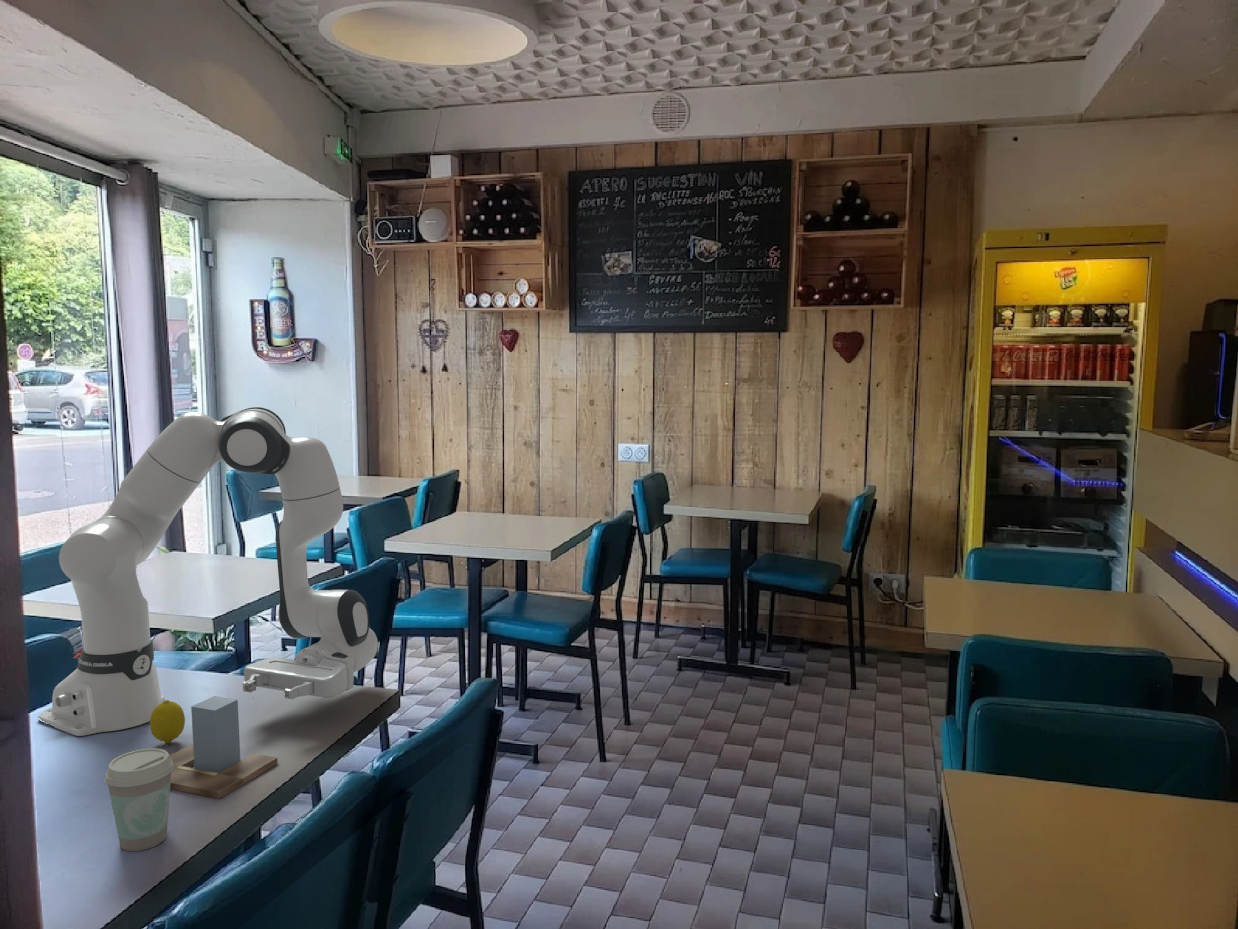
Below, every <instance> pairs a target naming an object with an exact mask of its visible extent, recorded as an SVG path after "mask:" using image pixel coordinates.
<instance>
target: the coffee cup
mask: <svg viewBox="0 0 1238 929" xmlns="http://www.w3.org/2000/svg"><path fill="white" fill-rule="evenodd" d="M173 768H174V764H173V761H172V759H171V758H170V754H169V752H168V751H167V750H166V749H163V748H143V749H137V750H133V751H130V752H125V753H123V754H120V755H119V756H116V757H114V758H113V759H112V760H111V761H110V762H109V764H108V767H107V770H106V771H105V774H104V782H105V784H107V787H108V792H109V797H110V801H111V802H110V803H111V806H112V812H113V817H114V822H115V826H116V832H117V837H118V841H119V846H120V848H121V850H123V851H128V852H140V851H144V850H148V849H151V848H154V847H155V846H158V845H160V844H161V843H163V841H164V840H165V839H166V838H167V835H168V834H167V833H168V825H169V823H168V822H169V808H170V793H171V789H170V783H171V771H172V770H173Z"/></svg>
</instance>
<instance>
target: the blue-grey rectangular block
mask: <svg viewBox="0 0 1238 929" xmlns="http://www.w3.org/2000/svg"><path fill="white" fill-rule="evenodd" d="M190 710H191V711H190V712H191V725H192V726H191V729H192V744H193V750H194V765H193V766H194V767H193V768H194V769H199V770H205V771H210V772H215V773H218V774H219V773H220V772H222V771H224V770H226V769H227V768H229V767H231V766H233V765H234V764H236V763H238V762H240V761H241V745H240V724H239V723H240V721H239V700H238V699H235V698H230V697H222V696H217V695H214V696H211V697H209V698H206V699H205V700H203V701H200V702H198V703H196V704H194V705H192V706H191V707H190Z"/></svg>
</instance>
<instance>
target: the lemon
mask: <svg viewBox="0 0 1238 929" xmlns="http://www.w3.org/2000/svg"><path fill="white" fill-rule="evenodd" d="M185 717H186V716H185V713H184V710H183V708H182V706H181V705H179V704H178V703H177V702H176V701H175V702H174V701H170V700H168V699H166V700H165V701H164V702H163V703H161V704H159V705H158V706H157V707H156V708H155V709H154V710H153V712H152V714H151V718H150V721H149V727H150V729H149V730H150V732H151V734H152V736H153V737H154V738H155V739H156V740H158V741H160V742H164V743H165V744H172V742H173V741H174V740H175V739H177V738H178V737H179V736H180V735H181V734H182V733H183V730H184V728H185V724H186V718H185Z"/></svg>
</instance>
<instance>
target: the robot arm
mask: <svg viewBox="0 0 1238 929" xmlns="http://www.w3.org/2000/svg"><path fill="white" fill-rule="evenodd" d="M222 461H223V462H225V464H227V465H228V467H230V468H231V469H234V470H235V471H239V472H242V473H249V474H261V475H268V476H269V475H271V476H275V477H276V479H277V483H278V486H279V490H280V494H281V498H282V499H281V500H282V504H283V517H282V520H281V521H279V523H278V525H277V527H276V534H275V541H276V542H275V545H276V546H275V549H276V562H277V575H278V586H279V604H278V621H279V624H280V625H281V628H282V629H283V631H284V632H285V633H286V635H287V636H289V637H290V638H293V639H295V640H297V639H299V640H300V639H308V638H320V639H319V641H318V642H316V643H314V644H311V645H309V646H307V647H305V648H302V649H301V650H299V651H298V652H297V653H296V654H295V657H294V658H293V659H290V658H289V659H288V658H283V657H267V658H265V659H261V660H258V661H256V662H252V663H251V664H247V665H246V666H245V667H244V670H243V671H244V672H243V677H244V682H243V683H242V692H244V693H246V692H247V693H252V692H255V691H256V690H257V687H258V688H263V689H268V690H269V689H270V690H276V691H281V692H284V698H285V699H288V700H294V699H296V698H300V697H306V696H313V697H318V698H319V697H320V698H324V699H329V698H334V697H337V696H338V695H340V694H342V693H344V692H347V691H350V690H351V689H353V688H354V679H355V677H354V675H355V673H357V672H358V671H360V670H362V669H363V668H364V667H366V666H367V665H368V664H369V663H370V662H371V661H372V660H374V659H373V658H375V656H376V654H377V652H378V646H379V645H378V644H379V642H378V638H377V635H376V633H375V632H374V630H372V629H371V628H370V623H371V622H370V612H369V607H368V605H367V603H366V600H365V599H364V598H363V596H362V595H361V593H359V592H358V591H357V590H353V589H329V590H328V589H317V590H316V589H314V588H312V587H311V585H310V584H309V578H308V565H307V564H308V563H307V549H308V546H309V544H310V543H311V542H313V541H314V540H316V539H318V538H319V537H321V536H323V535H324V534H327V533H329V532H330V531H331V530H332V529H334V528H335V527H336V525H337V524H338V523H339V522H340V519H341V518H342V516H343V513H344V501H343V495H342V491H341V487H340V482H339V479H338V473H337V471H336V468H335V465H334V462H333V459H332V457H331V454H330V453H329V450H328V448H327V445H326V444H325V443H324V441H323V442H322V440H320V439H318V438H315V437H309V436H301V437H290V436H289V435H287V431H286V426H285V424H284V422H283V420H282V418H280V416H279V415H278V414H277V413H275V412H273V410H270V409H268V408H265V407H256V406H255V407H247V408H244V409H241V410H239V411H237V412H235V413H232V414H230V415H227V416H225V417H222V419H221V420H220V421H219V420H217V419H215V418H212V417H211V416H209V415H207V414H205V413H201V412H196V411H188V412H184V413H182V414H181V415H179V416H177V418H175V419H174V420H173V421H172V422H171V423H170V424H169V425H168V426H167V427H165V428H164V430H162V431H161V433H160V434H159V435H158V436H156V438H155V439H154V440H153V441H152V442H151V443H150V445H149V446H148V447H147V449H146V450H145V451H144V453H142V455H141V457H139V459H138V460H137V462H135V464H134V465H133V467H132V468H131V469H130V471H128V473H127V474H126V476H125V477H124V478H123V479H122V481H121V483H120V487H119V489H118V492H117V493H116V495H115V496H114V499H113V501H112V503H111V504H110V506H109V507H108V508H107V510H106V511H105V512H104V514H103V515H101V516H100V517H99V518H98V519H96V521H93V522H92V523H91V522H90V523H88V524H85V525H84V526H81V527H80V528H78V529H76V530H75V531H74V532H73V533H72V534H71V535H70V536H69V537H68V538H67V539H66V541H65V542H63V544H62V546H61V548H60V551H59V554H58V563H59V567H60V569H61V570H62V572H63V573H64V574H65V575H66V577H67V578H69V580H70V581H71V584H72V587H73V590H74V593H75V596H76V600H77V603H78V607H79V611H80V617H81V630H82V643H83V648H82V649H81V650H78V651H75V652H73V655H75V654H77V655H75V656H74V657H73V659H77V658H79V659H78V662H77V666H76V669H75V670H73V672H71V673H70V674H69V675H68V676H66V677H65V678H64V679H62V681H61V682H59V683H58V684H57V685H56V686H55V687H54V689H53V692H52V698H51V699H52V702H51V703H52V704H51V707H49V708H47V709H45V710H44V711H43V712H41V713H39V715H38V718H40V719H41V720H42V721H44V722H45V723H47V724H50V725H52V726H54V727H53V728H55V729H57V730H61V731H63V732H65V733H68V734H70V735H73V736H75V737H81V736H88V735H89V736H90V735H92V734H97V733H103V732H104V733H106V732H112V731H121V730H125V729H130V728H135V727H137V726H141V725H143V724H146V723H150V718H151V714H152V712H153V710H154V709H155V708H156V707H157V706H158V705H159V704H161V703H163V702H164V701H165V695H164V694H161V689H160V688H161V687H160V683H159V677H158V672H157V671H158V670H157V667H156V664H155V662H154V660H155V646H154V642H153V640H152V639H151V630H150V629H151V628H150V613H149V611H150V610H149V602H148V600H147V599H146V598H145V596H144V595H143V592H142V590H141V586H140V583H139V580H138V574H137V566H139V565H140V564H141V563H144V562H145V561H146V560H147V559H148V558H149V557H150V555H151V554H152V553H153V551H154V549H155V548H156V547H157V545H158V544H159V542H160V541H161V540H162V538H163V536H164V535H165V533H166V532H167V530H168V528H169V527H170V525H171V523H172V522H173V520H174V519H175V517H176V515H177V514H178V512H179V511H180V510H181V509H182V507H183V506H184V505H185V503H186V502H187V500H188V499H189V498H190V497H191V496H192V494H193V493H194V492H195V491H196V489H197V488H198V486H199V485H200V484H201V482H203V480H204V479H205V477H206V476H207V475H208V473H209V472H210V471H211V470H212V469H213V468H214V466H216V465H217V464H218V463H220V462H222ZM38 718H37V719H38ZM45 723H44V724H45ZM47 724H46V725H47ZM50 725H49V726H50ZM52 726H51V727H52Z"/></svg>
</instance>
